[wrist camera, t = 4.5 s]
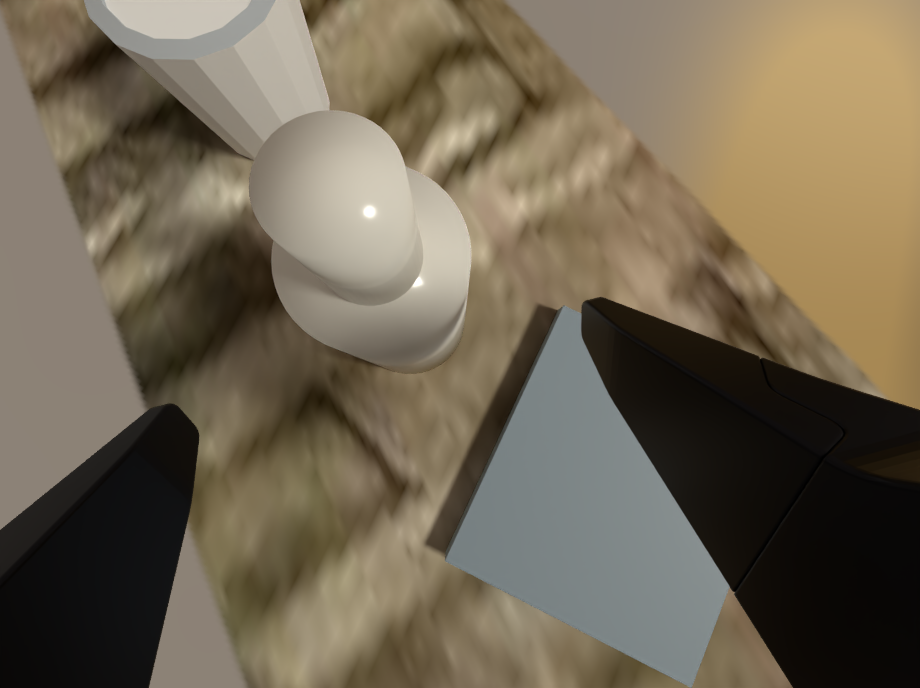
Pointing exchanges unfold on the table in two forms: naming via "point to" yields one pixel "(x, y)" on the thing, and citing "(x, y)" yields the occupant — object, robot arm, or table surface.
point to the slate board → (588, 519)
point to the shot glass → (223, 60)
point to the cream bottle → (362, 242)
